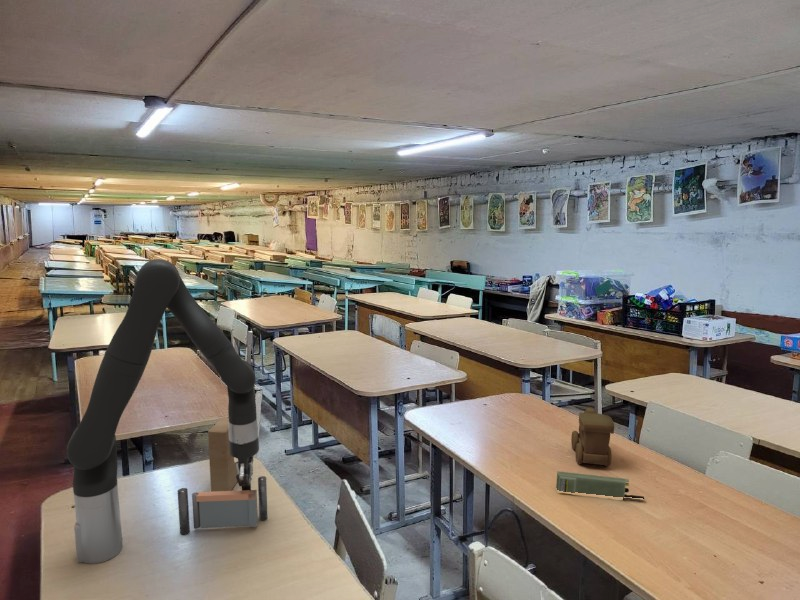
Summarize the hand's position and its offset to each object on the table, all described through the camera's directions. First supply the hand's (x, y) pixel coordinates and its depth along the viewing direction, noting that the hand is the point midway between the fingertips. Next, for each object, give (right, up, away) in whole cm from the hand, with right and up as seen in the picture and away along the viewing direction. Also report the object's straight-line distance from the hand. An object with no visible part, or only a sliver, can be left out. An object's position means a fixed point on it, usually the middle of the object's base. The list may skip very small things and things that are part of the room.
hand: (246, 495), depth 141 cm
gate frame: (-6, -8, -1) cm, 10 cm away
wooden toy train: (+108, -2, +41) cm, 115 cm away
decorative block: (-12, -4, +20) cm, 24 cm away
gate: (-5, -7, -3) cm, 9 cm away
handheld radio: (+102, -7, +16) cm, 103 cm away
